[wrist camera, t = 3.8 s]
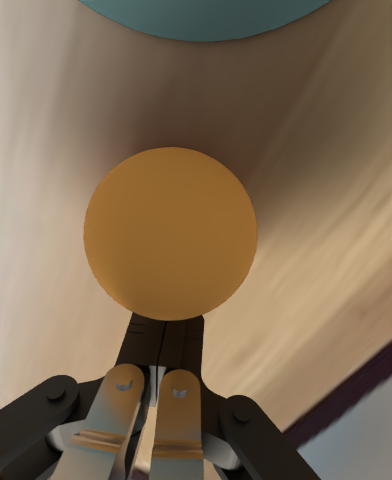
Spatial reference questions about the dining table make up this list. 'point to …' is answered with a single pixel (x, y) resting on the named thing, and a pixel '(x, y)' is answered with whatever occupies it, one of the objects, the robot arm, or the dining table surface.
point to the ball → (170, 233)
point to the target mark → (203, 16)
